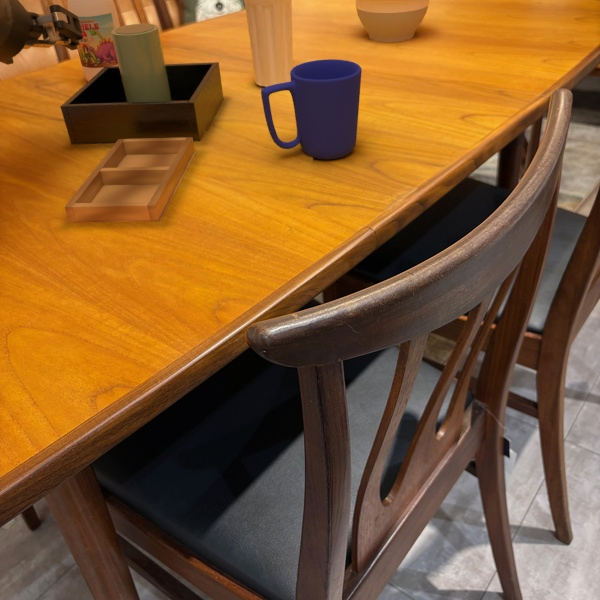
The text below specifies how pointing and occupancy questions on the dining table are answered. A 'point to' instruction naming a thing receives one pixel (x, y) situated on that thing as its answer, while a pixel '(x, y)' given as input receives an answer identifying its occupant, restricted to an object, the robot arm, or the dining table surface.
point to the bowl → (391, 18)
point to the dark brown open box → (144, 107)
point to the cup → (270, 40)
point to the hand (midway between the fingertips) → (41, 48)
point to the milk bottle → (95, 34)
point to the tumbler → (141, 63)
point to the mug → (321, 107)
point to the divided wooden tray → (133, 181)
